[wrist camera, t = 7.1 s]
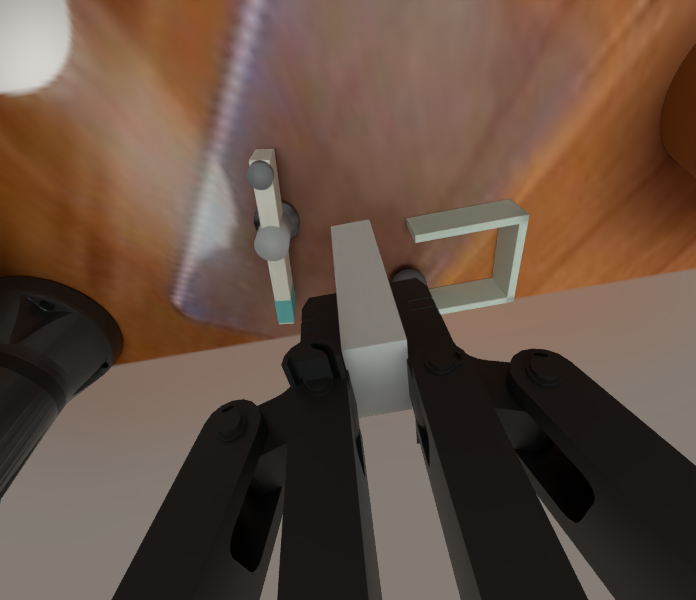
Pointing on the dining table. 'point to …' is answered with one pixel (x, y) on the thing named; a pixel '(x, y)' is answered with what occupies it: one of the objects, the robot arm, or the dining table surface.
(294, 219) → the pivot base
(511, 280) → the box
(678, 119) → the flower pot
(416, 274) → the ball
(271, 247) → the teal-tipped knobbed bar
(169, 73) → the dining table surface
